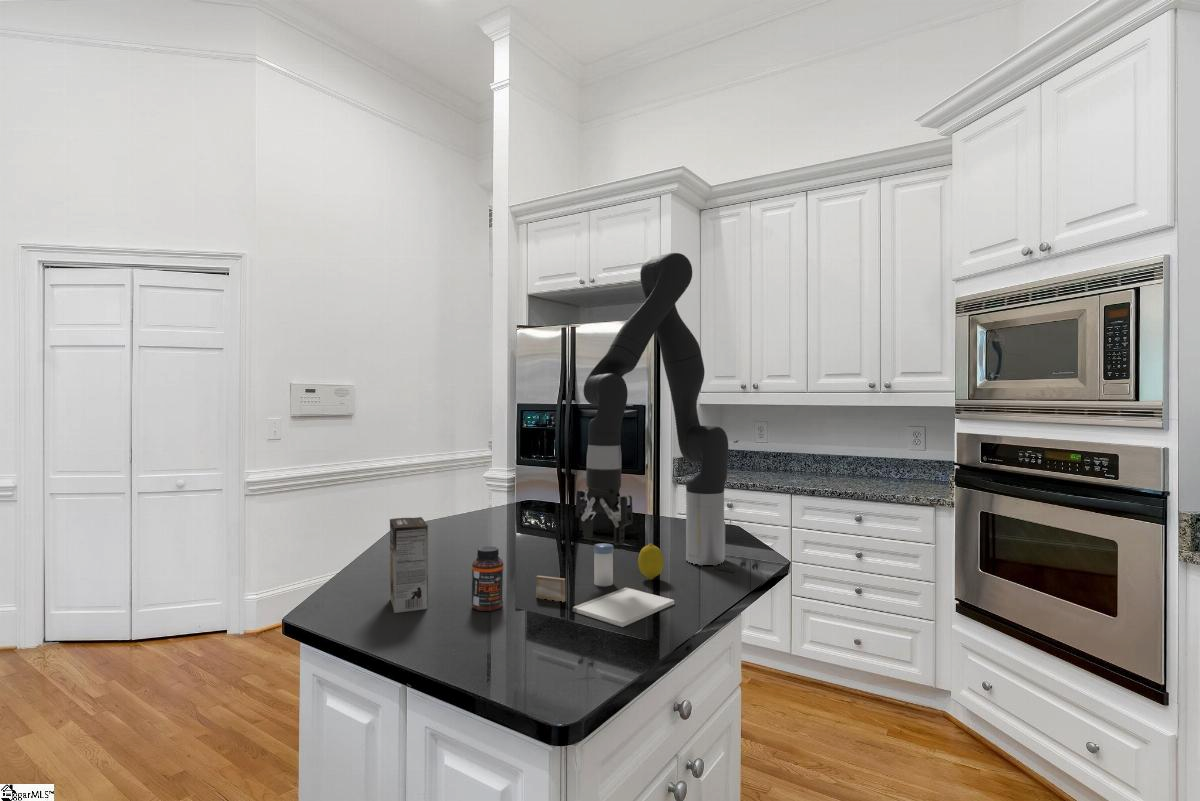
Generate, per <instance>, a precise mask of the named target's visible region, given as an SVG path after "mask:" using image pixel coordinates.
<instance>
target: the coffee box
mask: <svg viewBox="0 0 1200 801" xmlns="http://www.w3.org/2000/svg"><path fill="white" fill-rule="evenodd" d="M389 562H390V563H389V565H390V566H389V567H390V568H389V570H390V571H389V572H390V573H389V574H390V577H389V578H390V581H389V582H390V583H389V584H390V586H389V587H390V601H391V605H392V608H393V609H392V610H393V613H394V614H397V613H398V614H399V613H405V612H406V613H407V612H413V611H421V610H427V609H429V593H428V592H429V525H428V524H427V523H426V521H425V519H424V518H423V517H421V516H420V517H418V516H417V517H397V518H390V519H389Z"/></svg>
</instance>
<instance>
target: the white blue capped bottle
mask: <svg viewBox="0 0 1200 801" xmlns="http://www.w3.org/2000/svg"><path fill="white" fill-rule="evenodd" d="M593 552H594V556H593V557H594V558H593V559H594V560H593V561H594V562H593V564H594V566H593V567H594V568H593V569H594V576H593V579H594V582H593V583H594V586H597V587H609V586H612V585H613V584H614V581H613V580H614V565H613V564H614V559H613V558H614V557H613V556H614V554H613V553H614V544H611V543H604V542H603V543H595V544H594V545H593Z"/></svg>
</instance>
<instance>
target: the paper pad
mask: <svg viewBox="0 0 1200 801" xmlns="http://www.w3.org/2000/svg"><path fill="white" fill-rule="evenodd" d="M673 605H675V600H674V599H671V598H667V597H663V596H660V595H656V594H652V593H648V592H645V591H641V590H638V589H634V588H629V587H624V588H620V589H618V590H615V591H612V592H610V593H607V594H605V595H601V596H599V597H596V598H592V599H591V600H588V601H586V602H583V603H580V604H577V605H575V606H573V607H572V612H573V613H576V614H579V615H583V616H587V617H588V618H593V619H596V620H599V621H602V622H605V623H607V624H611V625H615V626H618V627H620V628H624V627H625V626H629V625H631V624H633V623H635V622H637V621H639V620H642V619H644V618H647V617H648V616H650V615H651V616H652V615H653V614H655V613H657V612H660V611H661V610H664V609H666V608H668V607H671V606H673Z"/></svg>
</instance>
